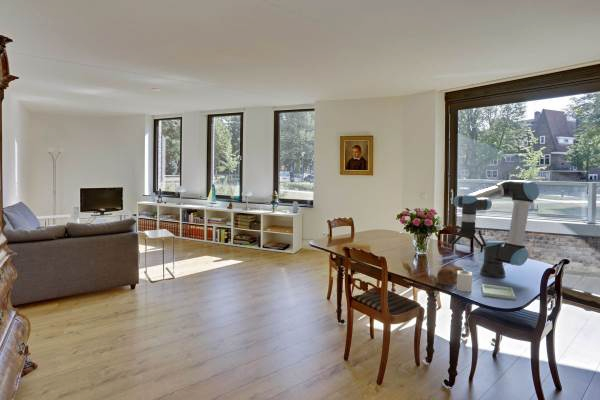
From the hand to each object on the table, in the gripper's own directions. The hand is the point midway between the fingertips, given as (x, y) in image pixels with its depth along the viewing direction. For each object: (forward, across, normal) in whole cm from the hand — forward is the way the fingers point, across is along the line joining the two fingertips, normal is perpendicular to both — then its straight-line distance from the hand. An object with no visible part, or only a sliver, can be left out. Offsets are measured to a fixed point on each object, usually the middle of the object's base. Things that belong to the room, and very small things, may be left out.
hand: (466, 256), depth 225 cm
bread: (+20, -8, +13) cm, 25 cm away
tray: (+20, +18, 0) cm, 26 cm away
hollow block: (+20, 0, 0) cm, 20 cm away
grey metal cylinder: (+20, 0, 0) cm, 20 cm away
